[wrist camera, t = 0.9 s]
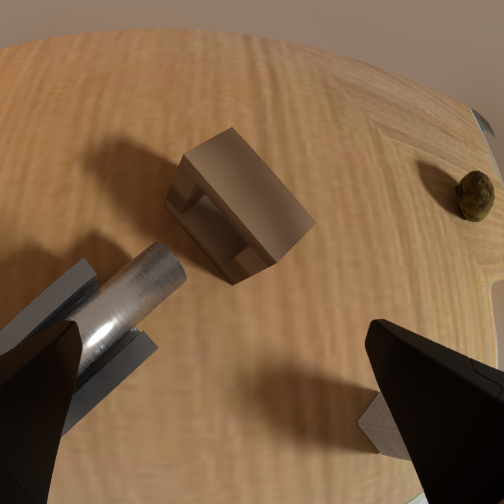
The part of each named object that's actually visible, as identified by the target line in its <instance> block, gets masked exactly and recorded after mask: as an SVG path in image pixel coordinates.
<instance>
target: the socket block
mask: <svg viewBox="0 0 504 504" xmlns="http://www.w3.org/2000/svg"><path fill="white" fill-rule="evenodd" d="M164 205H165V206H166V208H167V209H168V210H169V211H170V212H171V214H172V215H173V216H174V217H175V218H176V220H177V221H178V222H179V223H180V224H181V226H182V227H183V228H184V229H185V230H186V232H187V233H188V234H189V235H190V236H191V238H192V239H193V240H194V241H195V242H196V243H197V245H198V246H199V247H200V248H201V249H202V250H203V252H204V253H205V254H206V255H207V256H208V257H209V259H210V260H211V261H212V262H213V263H214V264H215V266H216V267H217V268H218V269H219V270H220V271H221V272H222V274H223V275H224V276H225V277H226V278H227V279H228V281H229V282H230V283H231V284H232V285H235V284H237V283H239V282H241V281H243V280H245V279H247V278H249V277H251V276H253V275H254V274H256V273H258V272H260V271H262V270H264V269H266V268H268V267H270V266H272V265H274V264H276V263H277V262H278V261H279V260H280V259H281V258H282V257H283V256H284V255H285V254H286V253H287V252H288V251H289V250H290V249H291V248H292V247H293V246H294V245H295V244H296V243H297V242H298V241H299V240H300V239H301V238H302V237H303V236H304V235H305V234H306V233H307V232H308V231H309V230H310V229H311V228H312V227H313V226H314V225H315V224H316V222H315V221H314V220H313V218H312V217H311V216H310V215H309V214H308V212H307V211H306V210H305V209H304V208H303V206H302V205H301V204H300V203H299V202H298V200H297V199H296V198H295V197H294V196H293V195H292V193H291V192H290V191H289V190H288V189H287V188H286V186H285V185H284V184H283V183H282V182H281V181H280V179H279V178H278V177H277V176H276V175H275V174H274V173H273V171H272V170H271V169H270V168H269V167H268V166H267V165H266V164H265V162H264V161H263V160H262V159H261V158H260V157H259V156H258V155H257V154H256V152H255V151H254V150H253V149H252V148H251V147H250V146H249V145H248V144H247V142H246V141H245V140H244V139H243V138H242V137H241V136H240V135H239V134H238V133H237V132H236V131H235V130H234V128H233V127H231V128H229V129H228V130H226V131H224V132H222V133H220V134H218V135H216V136H215V137H213V138H211V139H209V140H207V141H206V142H204V143H202V144H200V145H198V146H197V147H195V148H193V149H191V150H190V151H188V152H186V153H185V154H183V156H182V159H181V161H180V164H179V166H178V169H177V171H176V174H175V177H174V179H173V182H172V184H171V187H170V190H169V192H168V195H167V198H166V200H165V203H164Z"/></svg>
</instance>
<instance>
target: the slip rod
mask: <svg viewBox="0 0 504 504" xmlns="http://www.w3.org/2000/svg"><path fill="white" fill-rule="evenodd" d="M186 281H187V276H186V273H185V271H184V269H183V267H182V265H181V264H180V262H179V261H178V260H177V258H176V257H175V256H174V255H173V253H172V252H171V251H170V250H169V249H168V248H167V247H166V246H164V245H163V244H162V243H160V242H157V241H156V242H154V243H153V244H152V245H150V246H149V247H148V248H146V249H145V250H144V251H143V252H141V253H140V254H139V255H138V256H136V257H135V258H134V259H133V260H131V261H130V262H129V263H128V264H126V265H125V266H124V267H123V268H122V269H120V270H119V271H118V272H117V273H115V274H114V275H113V276H112V277H111V278H109V279H108V280H107V281H106V282H105V283H103V284H102V285H101V286H100V287H99V288H97V289H96V290H95V291H94V292H93V293H92V294H90V295H89V296H88V297H87V298H86V299H85V300H83V301H82V302H81V303H80V304H79V305H78V306H77V307H75V308H74V309H73V310H72V311H71V312H70V313H69V314H67V315H66V316H65V317H64V318H63V319H62V320H72V321H75V322H76V323H77V325H78V328H79V332H80V336H81V340H82V344H83V351H82V355H81V360H80V365H79V369H78V374H77V378H78V377H79V376H81V375H82V374H83V373H84V372H85V371H86V370H87V369H88V368H89V367H90V366H91V365H93V364H94V363H95V362H96V361H97V360H98V359H99V358H100V357H101V356H102V355H104V354H105V353H106V352H107V351H108V350H109V349H110V348H111V347H112V346H114V345H115V344H116V343H117V342H118V341H119V340H120V339H121V338H122V337H124V336H125V335H126V334H127V333H128V332H129V331H130V330H131V329H132V328H134V327H135V326H136V325H137V324H138V323H139V322H140V321H141V320H143V319H144V318H145V317H146V316H147V315H148V314H149V313H150V312H152V311H153V310H154V309H155V308H156V307H157V306H158V305H159V304H161V303H162V302H163V301H164V300H165V299H166V298H167V297H169V296H170V295H171V294H172V293H173V292H174V291H175V290H177V289H178V288H179V287H180V286H181V285H182V284H183V283H185V282H186ZM62 320H61V321H62ZM1 355H2V354H0V356H1Z"/></svg>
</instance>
